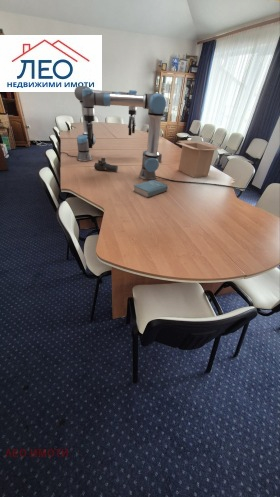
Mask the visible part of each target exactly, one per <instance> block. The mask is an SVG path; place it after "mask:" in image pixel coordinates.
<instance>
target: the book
mask: <svg viewBox="0 0 280 497" xmlns="http://www.w3.org/2000/svg"><path fill="white" fill-rule="evenodd" d="M168 187H169V186H168V184H166V183H164V182H160V181H159V180H156V179H153V180H146V181H143V182H140V183H137V184H134V185H133V193H135V194H138V195H140V196H142V197H145V198H150V197H153V196H156V195H159V194H161V193H164V192H167V191H168Z"/></svg>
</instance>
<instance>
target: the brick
mask: <svg viewBox="0 0 280 497" xmlns="http://www.w3.org/2000/svg"><path fill="white" fill-rule="evenodd" d="M158 154H159V159H158V162H159V164H160V163H162V158H163V156H162V155H163V154H162V153H160V152H158Z"/></svg>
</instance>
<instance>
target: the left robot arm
mask: <svg viewBox="0 0 280 497" xmlns="http://www.w3.org/2000/svg"><path fill="white" fill-rule="evenodd" d="M83 89H91V87H89V86H87V85H78V86H76V87H75V89H74V92H73V93H74V96H75V98H76V100H78V101H79V104H80V105H81V114H82V126H83V132H82V134H79V135H77V136H76V141H77V142H76V143H77V155H70V154H68V153H67V152H65V151H60V152H59V154H66V155H67V156H68V157H72V158H73V157H74V158H76V159H77V161H79V162H91V161H92V159H93V158H92V155H91V153H90V148H89V146H88V139H87V138H88V131H87V123H88V121H85V120H84V115H85V114H84V111H83V99H82V90H83ZM92 90H93V93H102V92H104V93H116V94H131V95H138V91H137V90H133V89H129V91H128V92H127V91H110V90H109V91H108V90H99V89H92ZM128 115H129V116H128V125H127V128H128V136H132V134H135V132H136V126H137V124H136V116H137V107H134V106H128ZM93 134H94V135H93V142H94V144H92V147H93V146H94V145H95V144H96V141H97V139H96V136H95V133H94V132H93Z"/></svg>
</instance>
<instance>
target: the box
mask: <svg viewBox="0 0 280 497" xmlns="http://www.w3.org/2000/svg"><path fill="white" fill-rule="evenodd" d="M176 144H178V145H180V146H181V151H180V158H179V163H178V171H179V172H181V173H183V174H186V175H188V176H190V177H191V178H193V179H195V178H202V177H209V175H210V169H211V166H212V161H213V159H214V158H213V157H214V153H215V150H218V149H222V146H219V145H215V144H212V143H209V142H206V141H199V142H196V141H193V140H190V139H189V140H177V142H176Z"/></svg>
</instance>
